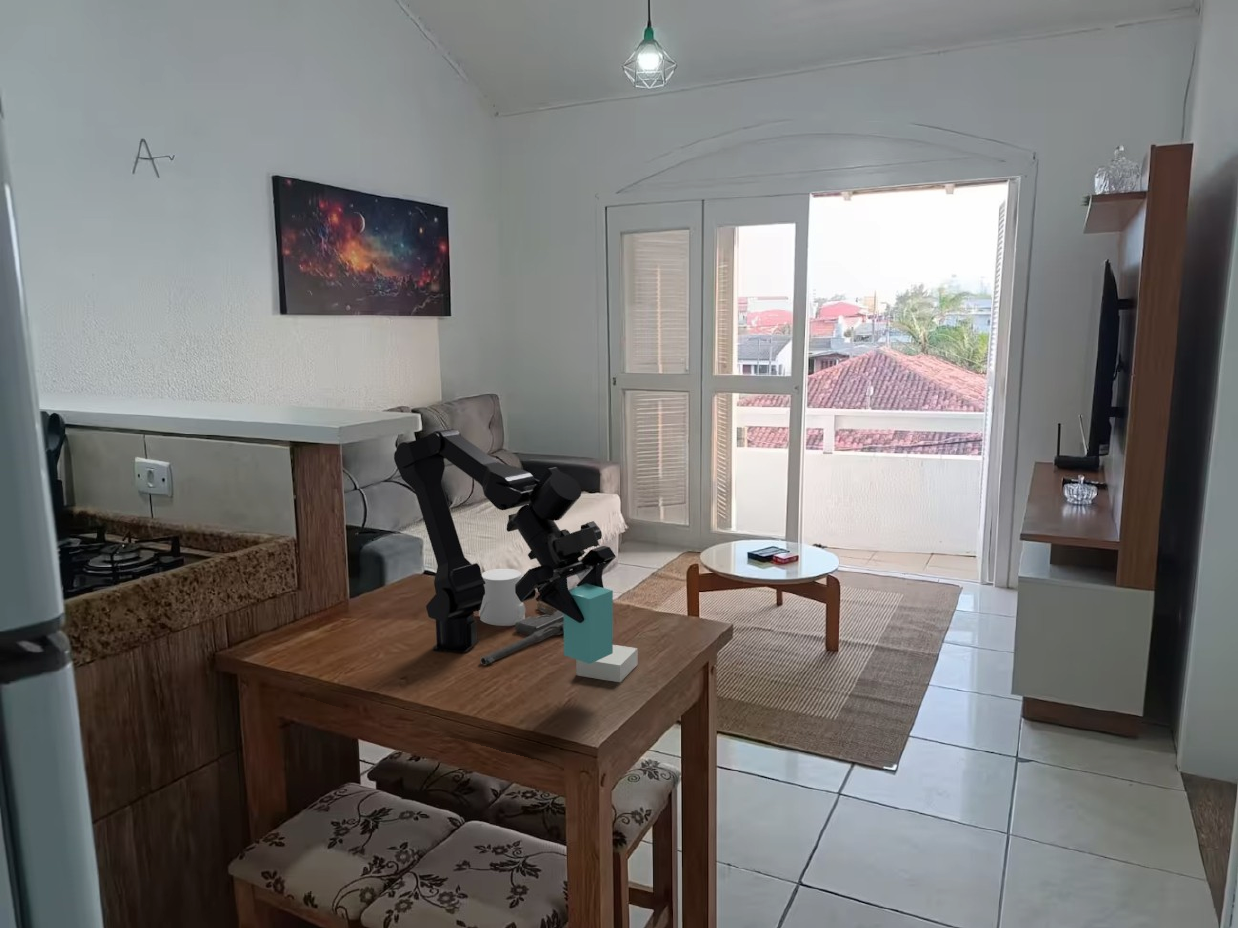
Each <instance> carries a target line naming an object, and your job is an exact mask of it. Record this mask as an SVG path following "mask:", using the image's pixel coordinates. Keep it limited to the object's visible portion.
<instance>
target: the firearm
mask: <svg viewBox="0 0 1238 928" xmlns="http://www.w3.org/2000/svg"><path fill="white" fill-rule="evenodd" d="M537 609H538V611H539V612H541V613H544V614H543V615H539V616H536V617H535V616H531V615H530V616H528V617H525V619H523V620H520V621H518V622H516V624H515V625H514V630H515V631H514V632H515V633H518V634H522V635H527V636H526V637H524V638H522V639H520V640H518V641H516V642H513V643H510V644H508V645H506V646H504V647H501V648H499V649H497V650H495V651H493V652H490V653H489V654H486V655H484V656H481V657H480V663H481V665H484V666H486V665H488V664H491V663H493V662H495V661H498V660H500V659H502V658H504V657H506V656H508V655H511V654H513V653H515V652H517V651H520V650H521V649H524V648H526V647H528V646H531V645H533V644H535V643H536V644H537V643H539V642H541V641H544V640H546V639H548V638H549V637H552V636H558V635H559V636H560V635H561V634H564V613H562V612H560V611H559V610H557V609H555V608H553V607H551V606H550V605H548V604H546V603H544V602H542V601H539V602H537Z"/></svg>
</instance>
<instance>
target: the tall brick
mask: <svg viewBox="0 0 1238 928" xmlns="http://www.w3.org/2000/svg"><path fill="white" fill-rule="evenodd" d="M568 590H569V592H570V593H571V595H572V597H573V598H574V600H575V602H576V603H577V605H578V607H579V609H580V610H581V612H582V615H583V617H584V621H583V622H582V623H578V622H577V621H575V620H574V619H572V618H570V617H569V616H567V615H565V614H564V633H563V655H564V656H565V657H569V658H571V659H575V660H576V659H577V660H580V661H583V662H586V663H589V664H591V663H593V662H595V661H597V660H599V659H602V658H604V657H606V656H608V655H610V654H612V653H613V645H614V643H613V640H614V639H613V637H614V636H613V634H614V633H613V632H614V631H613V629H614V628H613V626H614V625H613V624H614V623H613V618H614V617H613V615H614V614H613V612H614V609H613V608H614V607H613V605H614V604H613V603H614V601H613V599H614V598H613V595H614V594H613V589H609V588H605V587H604V588H602V587H598V586H594V585H590V584H584V585H581V586H578V587H577V586H576V587H574V588H570V589H568Z"/></svg>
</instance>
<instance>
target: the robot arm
mask: <svg viewBox="0 0 1238 928" xmlns="http://www.w3.org/2000/svg"><path fill="white" fill-rule="evenodd" d="M393 459H394V463H395V466H396V468H397V470H398V472H399V475H400V478H401V480H403V481H404V482H405V483H406V484H407V485H408V486H409V487H410V488H411V489H412V490H413V491H414V492H415V493H414V494H415V496H416V498H417V499H416V500H417V502H418V506H419V509H420V512H421V515H422V518H423V522H424V525H425V529H426V532H427V535H428V537H429V538H428V539H429V542H430V544H431V545H430V546H431V548H432V551H433V555H434V557H435V562H436V565H437V568H436V572H435V577H434V580H433V585H434V591H435V594H434V595H433V596H432V598H431V599H430V600H429V602H428V603H427V604H426V606H425V609H426V612H427V616H428V618H430V619H432V620H435V637H436V640H435V641H436V643H435V645H434V646H432V651H438V652H439V651H440V652H449V653H458V654H465V653H467V652H468V651H469V650H470V649H471V648H472V647H474V646H475V645H476V644H477V643H478V642H479V638H478V631H477V627H478V626H477V620H475V616H474V615H475V613H474V612H479V610H480V609H481V605H482V601H483V596H484V595H485V587H484V584H485V581H484V580H483V577H482V575H481V574H482V571H481V567H480V565H479V563H477V562H475V563H471V562H470V561H469V560H468V559H467V558H466V557H465V554H464V552H463V549H462V545H461V542H460V538H459V536H458V533H457V530H456V526H455V522H454V520H453V516H452V512H451V510H450V507H449V504H448V501H447V497H446V494H445V490H444V487H443V484H442V483H443V482H442V480H443V478H444V477H443V476H444V473H445V469H446V465H445V464H446V463H445V460H447V461H448V462H450V463H451V464H452V465H454V466H455V467H456V468H458V469H459V470H460V471H462V472H463V473H465V474H466V475H467V476H468V477H470V478H471V479H473V480H474V481H475V482H477V483H478V484H479V485H480V486H481V487H482V491H483V495H484V497H485V498H486V499H487V500H488V501H489V502H490V503H491V504H492V505H493V506H494V507H495V508H496V509H498V510H499V511H507V510H511V509H515V508H519V507H520V508H519V509H518V510H517V511H516V513H513V514H509V515H508V516H507V517H508V518H507V519H508V520H507V524H506V532H513V531H517V530H518V532H519V534H520V536H521V538H523V540H524V542H525V543H526V545H527V546H528V548H529V549H530V551H529V552H528V554H527V556H528V558H529V560H535V559H536V560H537V562H538V564H539V566H536V567H533V568H529V569H528V570H527V571H526V572H525V573H524V574H523V575H522V578H521V579H520V580H519V581H518V582H517V583H516V585H515V593H516V595H517V596H518V598H519V600H520V601H521V602H523V603H524V602H527V601H529V600H532V599H534V598H535V597H536V592H538V596H537V597H536V598H535V601H536V602H537V603H538V602H539V601H542V602H544V603H546V604H548V605H550V606H551V607H553V608H555V609H557V610H559V611H560V612H562V613H564V614H565V615H567V616H569V617H570V618H572V619H574V620H575V621H577V622H578V623H582V622H583V621H584V617H583V615H582V612H581V610H580V609H579V607H578V605H577V603H576V602H575V600H574V598H573V597H572V595H571V593H570V592H569V590H570V589H569V588H568V578H570V577H572V576H575V575H576V576H577V578H578V579H579V582H578V583H577V584H576V587H578V586H581V585H584V584H590V585H594V586H598V587H602V588H605V587H604V584H603V572H604V570H605V569H606V568H607V567H608V565H610V564H611V563H612V562H613V560H615V558H616V557H617V556H616V555H615V553H614V552H613V550H612V548H611V547H609V546H606V545H602V546H600V543H599V540H601V539H602V537H603V533H602V531H601V528H600V527H599V526H598V524H597V523H596V522H595V521H594V520H593V521H589V522H586V523H584V524H581V525H580V529H579V530H576V531H573V532H570V531H569V530H568V529H566V528H564V529H560V527H559V526H558V525H557V523H556V522H557V521H559V520H561V519H562V518H563V517H564V516H565V515H566V513H568V511H569V510H570V509H571V508H572V507H573V506H574V504H575V503H576V502H577V501H578V500H579V499H580V498H581V496H582V488H581V484H580V483H579V482H578V481H577V480H576V479H575V478H573V477H572V476H571V475H569V474H567V473H564V472H562V471H560V470H559V468H558V467H556V466H555V467H550V468H547V469H546V471H545V472H544V474H543V475H542V477H541V479H537V478H535V477H534V475H533V474H532V473H531V472H529V471H526V470H525V469H522V468H520V467H517V466H513V465H509V464H504V463H502V462H499V461H498V460H496V459H495V458H493V457H492V456H491V455H489V454H488V453H486V452H485V451H483V450H482V449H480V448H479V447H478V446H476V445H475V444H473V442H470V441H469V440H468V439H467V438H465V436H464V437H463V436H462V435H461V433H460V432H459V430H458V429H453V428H451V429H448V428H447V429H441V430H435V431H433V432H432V433H431V432H430V433H429V434H427V435H426V436H424V437H421V438H418V439H415V440H410V441H403V442H400V443H399V444H398V445H397V447H396V450H395V451H394V454H393ZM592 547H595V548H593V549H590V550H589V551H588V552H587V553H586V551H585V550H588V549H589V548H592ZM582 556H583V557H582ZM580 558H581V559H580ZM579 559H580V560H579ZM536 589H537V591H536Z"/></svg>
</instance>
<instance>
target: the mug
mask: <svg viewBox="0 0 1238 928" xmlns="http://www.w3.org/2000/svg"><path fill="white" fill-rule="evenodd" d="M481 575H482V577H483V580H484V581H485V584H484V587H485V595H484V596H483V601H482V605H481V609H480V610H479V611H478V617H480V618H479V620H480V621H481V622H482V623H485V624H486V625H487V624H488V625H490V626H491V625H492V626H498V627H500V626H501V627H508V626H515V624H516V622H518V621H520V620H523V619H525V618H526V615H525V614H526V612H527V611H526V604H524V602H521V601H520V600H519V598H518V596H517V595H516V593H515V585H516V583H517V582H518V581H519V580H520V579H521V578H522V577H523V575H522V573H521V571H519V570H517V569H514V568H513V569H512V568H494V569H489V570H486V571H484V572H481Z"/></svg>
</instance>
